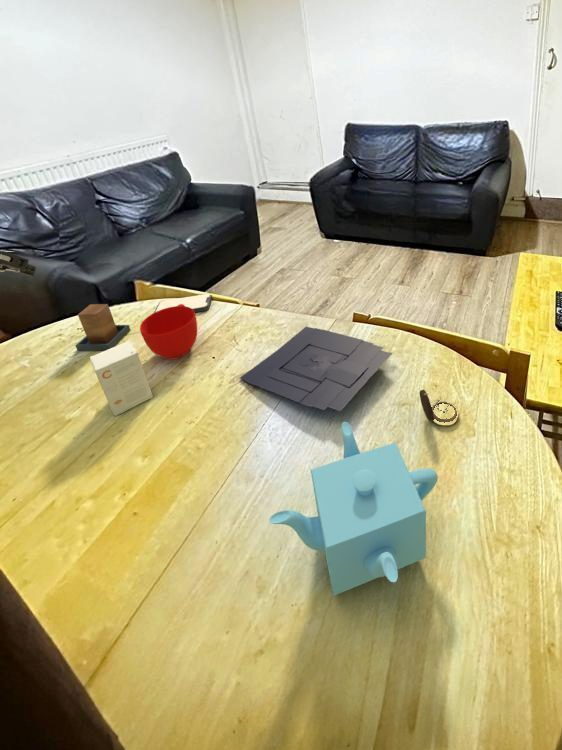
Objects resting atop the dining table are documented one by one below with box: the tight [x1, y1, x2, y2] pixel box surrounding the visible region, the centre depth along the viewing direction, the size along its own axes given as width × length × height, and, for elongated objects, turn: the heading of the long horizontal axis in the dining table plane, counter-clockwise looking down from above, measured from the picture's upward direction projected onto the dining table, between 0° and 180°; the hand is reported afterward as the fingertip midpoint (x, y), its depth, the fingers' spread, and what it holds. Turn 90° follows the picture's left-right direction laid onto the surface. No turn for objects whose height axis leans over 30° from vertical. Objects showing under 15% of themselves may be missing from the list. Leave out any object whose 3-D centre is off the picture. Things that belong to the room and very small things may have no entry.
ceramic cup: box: [139, 304, 198, 360], centre depth 110 cm, size 13×17×10 cm
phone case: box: [153, 293, 213, 313], centre depth 129 cm, size 9×2×16 cm
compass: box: [419, 389, 457, 423], centre depth 86 cm, size 8×8×7 cm
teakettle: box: [268, 421, 439, 597], centre depth 62 cm, size 19×19×15 cm
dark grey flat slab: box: [239, 326, 393, 412], centre depth 100 cm, size 24×30×4 cm
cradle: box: [74, 324, 131, 352], centre depth 115 cm, size 9×9×2 cm
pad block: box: [77, 303, 118, 344], centre depth 113 cm, size 5×5×10 cm
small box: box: [89, 340, 154, 417], centre depth 92 cm, size 8×6×13 cm
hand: (15, 272), depth 92 cm, fingers open, 8 cm apart
